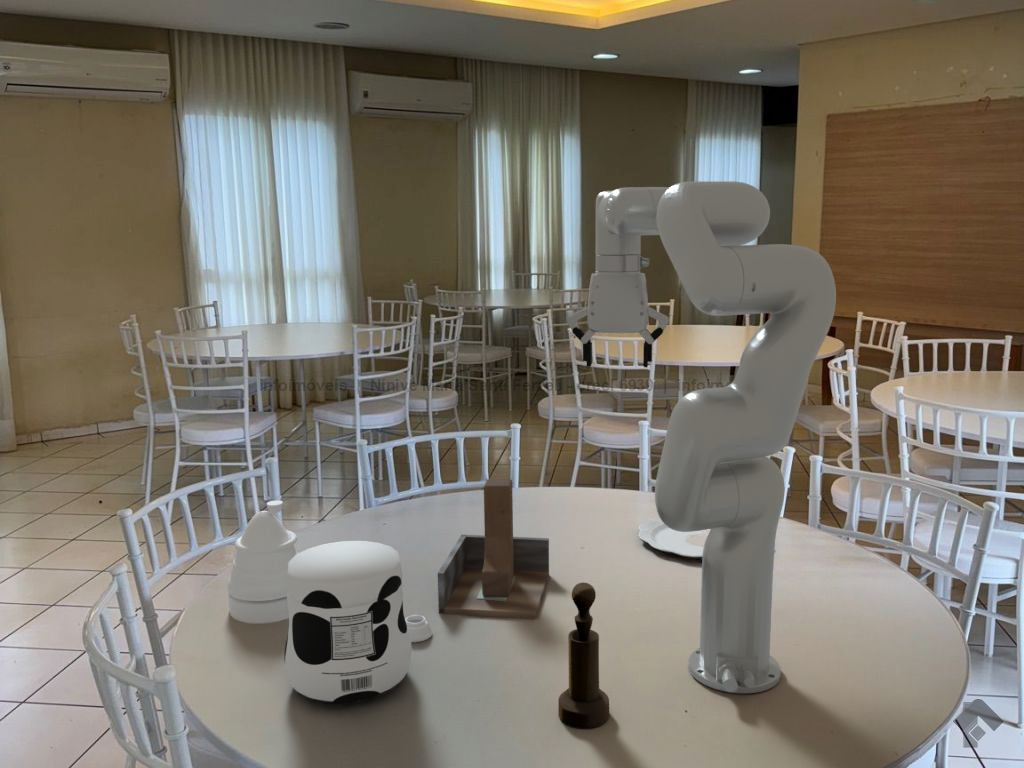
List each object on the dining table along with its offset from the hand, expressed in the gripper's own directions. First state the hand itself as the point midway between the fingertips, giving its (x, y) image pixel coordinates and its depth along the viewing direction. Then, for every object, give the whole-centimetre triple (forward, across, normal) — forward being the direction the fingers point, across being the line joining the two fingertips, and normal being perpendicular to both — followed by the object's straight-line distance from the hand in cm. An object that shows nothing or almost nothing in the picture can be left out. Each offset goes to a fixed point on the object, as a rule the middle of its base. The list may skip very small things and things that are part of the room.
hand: (617, 365), depth 151 cm
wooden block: (+37, +20, +10) cm, 43 cm away
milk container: (+39, +35, +42) cm, 67 cm away
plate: (+39, -16, -20) cm, 47 cm away
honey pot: (+39, +57, +20) cm, 72 cm away
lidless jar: (+39, +30, +27) cm, 56 cm away
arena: (+38, +20, +10) cm, 44 cm away
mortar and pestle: (+38, +2, +46) cm, 60 cm away
